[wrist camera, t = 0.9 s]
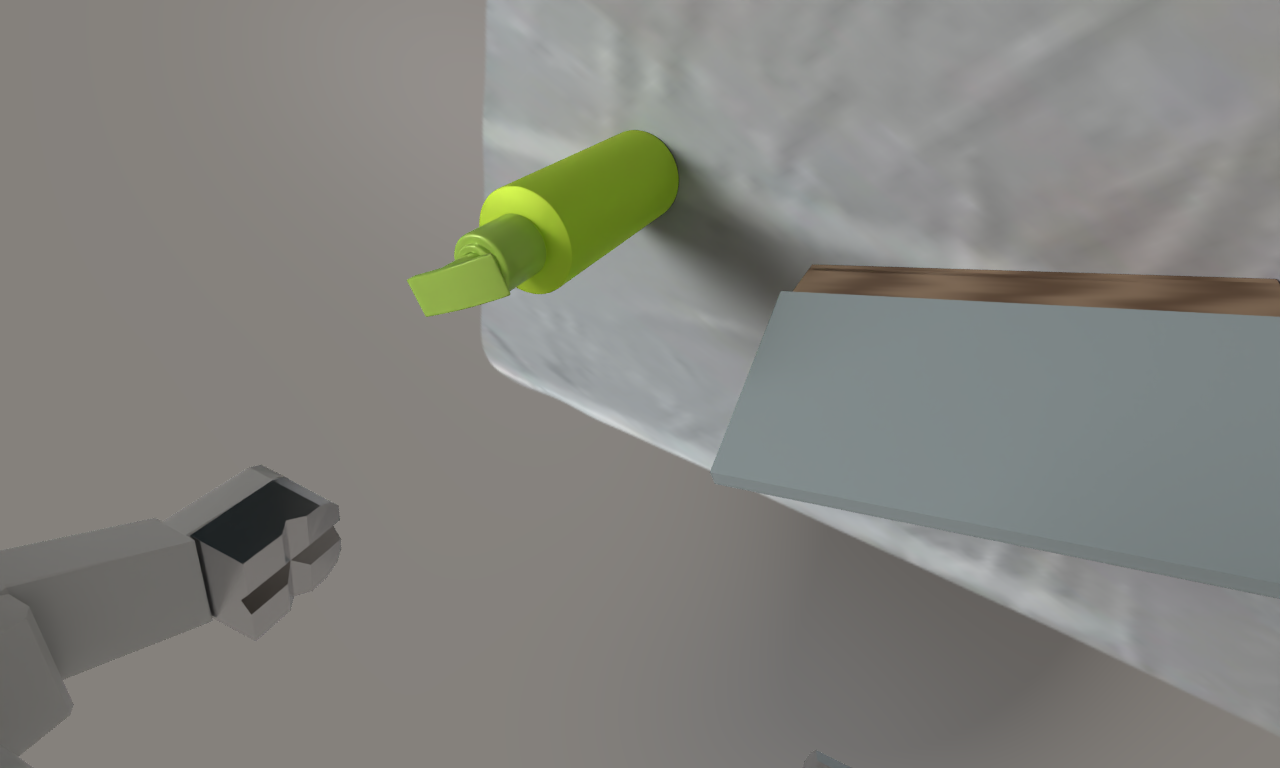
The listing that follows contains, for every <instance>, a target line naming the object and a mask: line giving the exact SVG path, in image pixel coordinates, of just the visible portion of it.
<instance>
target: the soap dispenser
mask: <svg viewBox="0 0 1280 768" xmlns="http://www.w3.org/2000/svg"><path fill="white" fill-rule="evenodd" d="M678 185H679V176H678V170H677V166H676V163H675V160H674V158H673V156H672V154H671V152H670V151H669V149H668V148H667V147H666V146H665V144H664V143H663V142H662V141H660V140H659V139H658V138H657V137H655V136H653V135H652V134H649V133H647V132H644V131H639V130H630V131H625V132H622V133H620V134H618V135H616V136H613V137H611V138H609V139H607V140H605V141H602V142H600V143H598V144H596V145H594V146H591V147H589V148H587V149H585V150H582V151H580V152H578V153H576V154H574V155H571V156H569V157H567V158H565V159H563V160H560V161H558V162H556V163H554V164H552V165H549V166H547V167H545V168H543V169H540V170H538V171H536V172H534V173H532V174H529V175H527V176H525V177H523V178H521V179H518V180H516V181H514V182H512V183H510V184H507V185H505V186H503V187H501V188H499V189H497V190H495V191H494V192H492V193H491V194H490V195H489V196H488V197H487V199H486V200H485V202H484V204H483V206H482V209H481V213H480V221H479V223H480V224H479V228H477V229H475V230H473V231H471V232H469V233H467V234H465V235H464V236H462V237H461V238H460V239H459V240H458V242H457V244H456V247H455V252H454V257H455V261H454V262H452V263H450V264H448V265H446V266H444V267H443V268H440V269H436V270H433V271H430V272H426V273H423V274H418V275H415V276H413V277H412V278H410V279H408V280H407V281H408V283H409V285H410V287H411V289H412V291H413V293H414V295H415V297H416V299H417V301H418V302H419V304H420V306H421V308H422V310H423V312H424V314H425V316H426V317H428V316H434V315H439V314H444V313H449V312H453V311H458V310H462V309H466V308H470V307H474V306H477V305H481V304H484V303H487V302H491V301H494V300H497V299H500V298H503V297H506V296H509V295H510V291H511V290H512V289H514V288H515V287H517V288H519V289H521V290H523V291H526V292H529V293H533V294H546V293H550V292H552V291H554V290H556V289H558V288H559V287H561V286H562V285H564V284H565V283H566V282H568V281H569V280H571V279H572V278H573V277H575V276H576V275H578V274H579V273H580V272H582V271H583V270H585V269H586V268H587V267H589V266H590V265H592V264H593V263H594V262H596V261H597V260H599V259H600V258H601V257H603V256H604V255H606V254H607V253H609V252H610V251H611V250H613V249H614V248H616V247H617V246H618V245H620V244H621V243H623V242H624V241H625V240H627V239H628V238H630V237H631V236H632V235H634V234H635V233H637V232H638V231H639V230H641V229H642V228H644V227H645V226H646V225H648V224H649V223H651V222H652V221H654V220H655V219H656V218H658V217H659V216H661V215H662V214H663V213H665V212H666V211H667V210H668V209H669V208H670V206H671V205H672V204H673V202H674V200H675V198H676V195H677V191H678Z"/></svg>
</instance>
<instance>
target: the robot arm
mask: <svg viewBox="0 0 1280 768" xmlns="http://www.w3.org/2000/svg"><path fill="white" fill-rule="evenodd" d="M339 520H340V516H339V506H338V505H337V504H335V503H333V502H331V501H329V500H327V499H325V498H324V497H322V496H320V495H318V494H316V493H314V492H312V491H310V490H308V489H307V488H305V487H303V486H301V485H299V484H297V483H295V482H293V481H291V480H290V479H288V478H287V477H285V476H283V475H281V474H279V473H277V472H275V471H273V470H271V469H269V468H267V467H265V466H263V465H258V466H253V467H249V468H247V469H245V470H244V471H242V472H241V473H239V474H237V475H236V476H234V477H233V478H231V479H230V480H228V481H226V482H225V483H223V484H221V485H220V486H218V487H217V488H215V489H213V490H212V491H210V492H209V493H207V494H205V495H204V496H202V497H201V498H199V499H197V500H196V501H194V502H193V503H191V504H189V505H188V506H186V507H185V508H183V509H182V510H180V511H178V512H177V513H175V514H173V515H172V516H170V517H169V518H167V519H165V520H164V521H161V520H159V519H156V518H152V519H147V520H142V521H138V522H133V523H128V524H124V525H119V526H114V527H109V528H104V529H100V530H95V531H91V532H86V533H81V534H76V535H71V536H67V537H62V538H57V539H52V540H48V541H43V542H38V543H34V544H29V545H24V546H19V547H14V548H10V549H5V550H0V768H33V767H32V766H31V765H29V764H28V763H26V762H25V761H23V760H22V759H21V758H19V756H20V755H21V754H22V753H23V752H25V751H26V750H27V749H29V748H30V747H31V746H32V745H34V744H35V743H36V742H37V741H39V740H40V739H41V738H42V737H43V736H45V735H46V734H47V733H48V732H50V731H51V730H52V729H53V728H55V727H56V726H57V725H58V724H60V723H61V722H62V721H63V720H65V719H66V718H67V717H68V716H70V714H71V711H72V708H73V705H74V704H73V702H72V700H71V697H70V695H69V693H68V691H67V689H66V686H65V684H64V682H63V680H64V679H66V678H68V677H71V676H74V675H76V674H79V673H81V672H84V671H87V670H89V669H92V668H94V667H97V666H99V665H102V664H104V663H107V662H109V661H112V660H115V659H117V658H120V657H122V656H125V655H127V654H130V653H132V652H135V651H138V650H140V649H142V648H145V647H148V646H150V645H153V644H155V643H158V642H160V641H163V640H166V639H168V638H171V637H173V636H176V635H178V634H181V633H184V632H186V631H189V630H191V629H194V628H196V627H199V626H201V625H204V624H206V623H209V622H211V621H212V618H214V619H216V620H218V621H219V622H222V623H223V624H225V625H227V626H229V627H230V628H232V629H234V630H236V631H238V632H240V633H242V634H243V635H245V636H247V637H249V638H251V639H253V640H254V641H257V640H258V639H259V638H260V637H261V636H262V635H263V634H264V633H266V632H267V631H268V630H269V629H270V628H271V627H272V626H274V625H275V624H276V623H277V622H278V621H279V620H280V619H281V618H282V617H284V616H285V615H286V614H287V613H288V612H289V611H290V610H291V607H292V603H293V599H294V596H297V595H300V594H303V593H307V592H310V591H313V590H314V589H315V588H316V587H317V586H318V585H319V584H320V583H321V582H323V581H324V579H326V578H327V577H328V575H329V573H330V572H331V571H332V569H333V567H334V566H335V564H336V563H337V561H338V558H339V554H340V551H341V538H340V537H339V535H338V533H337V532H336V530H335V528H334V526H333V525H334V524H336V523H337V522H338V521H339ZM803 768H851V767H849V766H847V765H845V764H843V763H841V762H839V761H837V760H835V759H833V758H831V757H829V756H827V755H825V754H823V753H821V752H819V751H817V750H815V751H813V752H811V753H810V754H809V756H808V757H807V758H806V760H805V761H804V765H803Z"/></svg>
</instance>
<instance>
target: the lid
mask: <svg viewBox="0 0 1280 768" xmlns="http://www.w3.org/2000/svg"><path fill="white" fill-rule="evenodd" d="M710 473H711V475H712V478H713V480H714V483H715V484H718V485H724V486H728V487H734V488H738V489H743V490H748V491H753V492H758V493H763V494H767V495H772V496H777V497H782V498H787V499H792V500H797V501H802V502H807V503H812V504H817V505H821V506H826V507H831V508H836V509H841V510H846V511H851V512H856V513H861V514H866V515H871V516H875V517H880V518H885V519H890V520H895V521H900V522H905V523H910V524H915V525H920V526H925V527H930V528H934V529H939V530H944V531H949V532H954V533H959V534H964V535H969V536H974V537H979V538H984V539H988V540H993V541H998V542H1003V543H1008V544H1013V545H1018V546H1023V547H1028V548H1033V549H1038V550H1043V551H1047V552H1052V553H1057V554H1062V555H1067V556H1072V557H1077V558H1082V559H1087V560H1092V561H1097V562H1101V563H1106V564H1111V565H1116V566H1121V567H1126V568H1131V569H1136V570H1141V571H1146V572H1151V573H1155V574H1160V575H1165V576H1170V577H1175V578H1180V579H1185V580H1190V581H1195V582H1200V583H1205V584H1210V585H1214V586H1219V587H1224V588H1229V589H1234V590H1239V591H1244V592H1249V593H1254V594H1259V595H1264V596H1268V597H1273V598H1278V599H1280V317H1273V316H1254V315H1234V314H1215V313H1196V312H1176V311H1157V310H1137V309H1118V308H1099V307H1079V306H1060V305H1041V304H1021V303H1002V302H983V301H963V300H944V299H925V298H905V297H886V296H867V295H847V294H828V293H809V292H789V291H781V292H780V294H779V297H778V300H777V302H776V305H775V307H774V310H773V312H772V315H771V318H770V320H769V323H768V325H767V328H766V330H765V333H764V335H763V338H762V341H761V343H760V346H759V348H758V351H757V353H756V356H755V359H754V361H753V364H752V366H751V369H750V371H749V374H748V376H747V379H746V382H745V384H744V387H743V389H742V392H741V394H740V397H739V400H738V402H737V405H736V407H735V410H734V412H733V415H732V418H731V420H730V423H729V425H728V428H727V430H726V433H725V435H724V438H723V441H722V443H721V446H720V448H719V451H718V453H717V456H716V459H715V461H714V464H713V466H712V469H711V471H710Z"/></svg>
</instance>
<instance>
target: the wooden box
mask: <svg viewBox="0 0 1280 768" xmlns="http://www.w3.org/2000/svg"><path fill="white" fill-rule="evenodd" d="M793 292H809V293H828V294H847V295H867V296H886V297H905V298H925V299H944V300H963V301H983V302H1002V303H1021V304H1041V305H1060V306H1079V307H1099V308H1118V309H1137V310H1157V311H1176V312H1196V313H1215V314H1234V315H1254V316H1273V317H1280V284H1279V282H1278V281H1277V279H1257V278H1225V277H1193V276H1161V275H1129V274H1097V273H1066V272H1034V271H1002V270H970V269H938V268H906V267H874V266H843V265H811V267H810V268H809V270H808V271H807V272H806V274H805V275H804V276H803V278H802V279H801V281H800V282H799V283H798V285H797V286H796V287H795V289H794V290H793Z"/></svg>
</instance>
